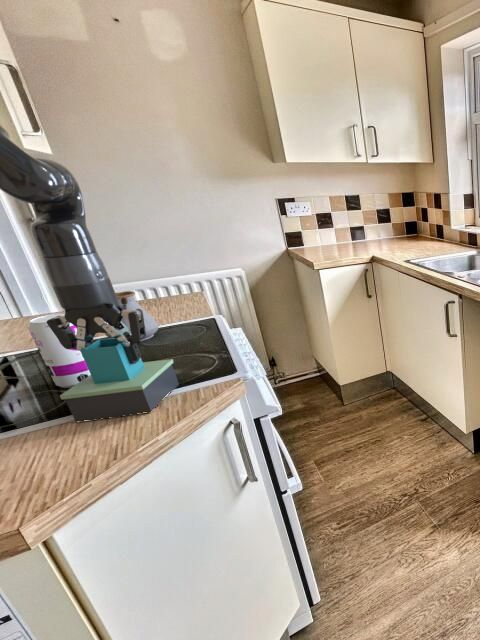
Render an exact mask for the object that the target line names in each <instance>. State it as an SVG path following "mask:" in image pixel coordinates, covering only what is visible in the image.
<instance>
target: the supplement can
mask: <svg viewBox="0 0 480 640" xmlns="http://www.w3.org/2000/svg"><path fill="white" fill-rule="evenodd" d="M56 316H65V312H57V313H51V314H46V315H41V316H38V317H35V318H32V319H31V320H29V325H28V331H29V333H30V337H32V340H33V342H34V344H35V346H36V347H37V350H38V352H39V354H40V356H41V358H42V360H43V362H44V364H45V367H46V368H47V370H48V373H49V375H50V376H51V378H52V381H53V382H54V385H55V386H58V387H60V388H63V389H70V388H72V387H73V386H75V385H76V384H78V383H79V382H81V381H82V380H84V379H85V378H87V377H88V376H90V375H91V374H90V372H89V370H88V367H87V365H86V363H85V361H84V358H83V356H82V354H81V352H80V351H79V350H77V349H72V348H71V349H65V348H64V347H63V345H62V344H61V343H60V341H59V340H58V338H57V337H56V335H55V334H54V333H53V331H52V330H51V328H50V327H49V326H48V324H47V320H49V319H51V318H54V317H56ZM69 326H70V327H71V329H72V330H73V332H74V333H75V335H76V333H77V327H76V326H74V325H73V324H71V323H70V325H69Z"/></svg>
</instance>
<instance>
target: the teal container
mask: <svg viewBox="0 0 480 640" xmlns="http://www.w3.org/2000/svg"><path fill="white" fill-rule="evenodd" d="M123 347H124V346H123V345H122V344H121V343H120V342H119V341H118V340H117V339H116V338H102V339H101V338H99V339H97V340H94V341H93V343H92V344H90V345H88V346H87V347H85V348H83V349H81V350H80V352H81V354H82V356H83V358H84V361H85V363H86V365H87V367H88V370H89V372H90V374H91V376H92V378H93V381H94V383H95V384H100V383H109V382H117V381H126V380H130V379H132V378H133V377H134V376H135V375H137V374H138V373H139V372H140V371H142V370H143V369H144V368H145V367H144V365H143V362H144V361H143V360H142V357H141V358H140V359H139V361H138V362H137V363H135V364H130V363H129V361H128V358H127V356H126V353H125V351H124V348H123Z"/></svg>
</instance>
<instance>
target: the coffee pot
mask: <svg viewBox="0 0 480 640" xmlns="http://www.w3.org/2000/svg"><path fill="white" fill-rule="evenodd" d="M115 294H116V296H117V301H118V304H119V306H120V307H121V308H123V310H136V309H141V310H142V311H143V317H144V324H145V331H146V337H145V338H143V339H142V340H140V341H139V342H143V341H146V340H149V339H151V338H153V337H154V336H155V334H156V333H157V332H158V330H159V326H160V324H159V322H158V321H156V320H155V318H154V317H153V316H152V315H150V314H149V313H148V311H147V310H145V309H144V307H143V306H141V305H140V304H139V303H138V302H137V301H136V300H135V295H136V292H135V291H120V292H115ZM121 321H122V322H123V323H124V324H125V325H126V326H127V327H128V328H129V331H130V332H131V330H130V324H129V322H128V321H126V318H125V317H124V316H123V318H122V320H121ZM116 330H118V328H117V329H116ZM104 334H105V336H106V337H107V339H109V338H113V337H112V336H111V335H110V334H109V333H104Z"/></svg>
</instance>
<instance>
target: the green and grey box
mask: <svg viewBox="0 0 480 640" xmlns="http://www.w3.org/2000/svg"><path fill="white" fill-rule="evenodd" d="M142 362H143V365H144V367H145V368H144V369H143V370H142V371H140V372H139V373H138V374H137V375H135V376H134V377H133V378H132V379H130V380H126V381H117V382H109V383H100V384H95V383H94V381H93V378H92V376H91V375H90V376H88V377H87V378H85V379H84V380H82V381H81V382H79V383H78V384H76V385H75V386H73V387H71V388H68V389H67V390H66V391H65V392H63V393H62V394H60V395H59V398H60V400H65V403H66V404H67V406H68V408H69V411H70V413H71V415H72V417H73V419H74V421H75V423H76V422H77V421H84V420H94V419H101V418H109V417H117V418H119V417H118V416H123V415H130V414H137V413H143V412H151V411H152V410H153V409H154V408H155V407H156V406H157V405H158V404H159V403H160V402H161V401H162V399H163V398H164V397H165V396H166V395H167V394H168V393H169V392H171V391H172V390H173V389H175V390H176V389H177V388H178V387H179V386H180V383H179V380H178V378H177V375H176V371H175V369H174V367H173V364H174V359H173V358H171V359H161V360H152V361H142Z"/></svg>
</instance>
